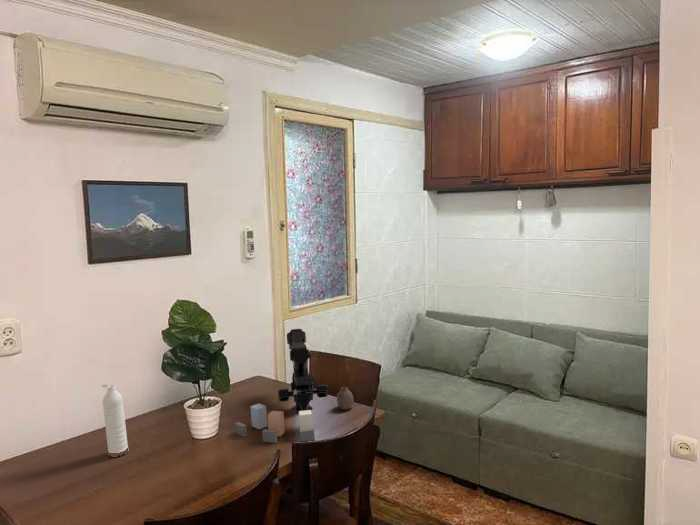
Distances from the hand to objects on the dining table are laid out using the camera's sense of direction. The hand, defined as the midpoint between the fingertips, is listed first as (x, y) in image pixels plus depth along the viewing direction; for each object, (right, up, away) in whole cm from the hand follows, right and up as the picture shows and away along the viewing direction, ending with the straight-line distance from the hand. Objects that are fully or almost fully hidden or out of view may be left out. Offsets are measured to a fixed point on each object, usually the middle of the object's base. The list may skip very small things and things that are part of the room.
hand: (305, 414), depth 198 cm
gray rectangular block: (-18, -7, +7) cm, 21 cm away
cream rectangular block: (+1, -7, -1) cm, 7 cm away
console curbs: (-11, -8, -2) cm, 13 cm away
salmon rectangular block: (-10, -7, 0) cm, 13 cm away
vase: (+15, -4, +21) cm, 26 cm away
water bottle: (-66, -12, -8) cm, 68 cm away
